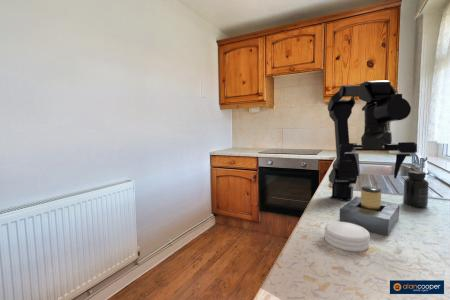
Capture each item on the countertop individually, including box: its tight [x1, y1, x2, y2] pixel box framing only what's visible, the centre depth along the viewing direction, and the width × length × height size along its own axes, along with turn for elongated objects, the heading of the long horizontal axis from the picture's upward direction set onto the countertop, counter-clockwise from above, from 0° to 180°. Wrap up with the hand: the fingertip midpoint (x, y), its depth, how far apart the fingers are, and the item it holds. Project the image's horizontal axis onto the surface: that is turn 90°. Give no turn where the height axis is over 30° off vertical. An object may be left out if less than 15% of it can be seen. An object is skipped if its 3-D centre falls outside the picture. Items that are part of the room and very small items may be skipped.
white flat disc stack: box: [324, 221, 371, 253], centre depth 59 cm, size 10×10×4 cm
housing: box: [338, 196, 401, 237], centre depth 71 cm, size 12×16×4 cm
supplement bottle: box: [402, 170, 430, 209], centre depth 83 cm, size 7×7×12 cm
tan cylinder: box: [360, 186, 382, 212], centre depth 71 cm, size 5×5×10 cm
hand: (375, 177), depth 69 cm, fingers open, 9 cm apart
